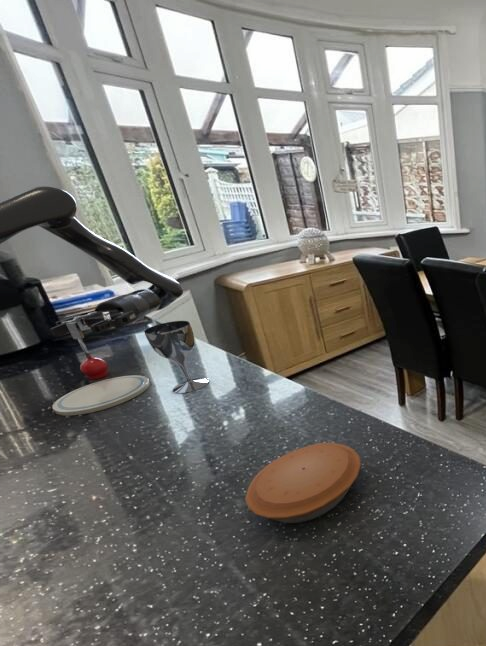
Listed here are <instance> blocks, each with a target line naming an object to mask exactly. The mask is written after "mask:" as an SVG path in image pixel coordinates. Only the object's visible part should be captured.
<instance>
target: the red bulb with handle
mask: <svg viewBox="0 0 486 646" xmlns="http://www.w3.org/2000/svg"><path fill="white" fill-rule="evenodd" d="M66 325H67V327H68V329H69V331H70V332H69V333H70V335H71V337H72V339H73V340H77V341H78V344H79V345H80V347H81V349H82V351H83V353H84V355H85V356H86V359H85V360H83V361H82V362H81V363H80V366H79V370H80V372H81V373H82V374H83V376H84V375H85V376H87V378H88V380H91V381H93V380H94V381H95V380H99V379H102V378H104V377H107V376H108V375H109V371H108V369H109V364H108V363H107V361H106V360H105V359H102V358H101V357H92V356H91V354H90V352H89V350H88V348H87V346H86V344H85V342H84V340H83V339H84V338H85V335H84V333H83V330H81V329H80V327H79V325H78V323H77V322H72V323H67V324H66Z"/></svg>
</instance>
